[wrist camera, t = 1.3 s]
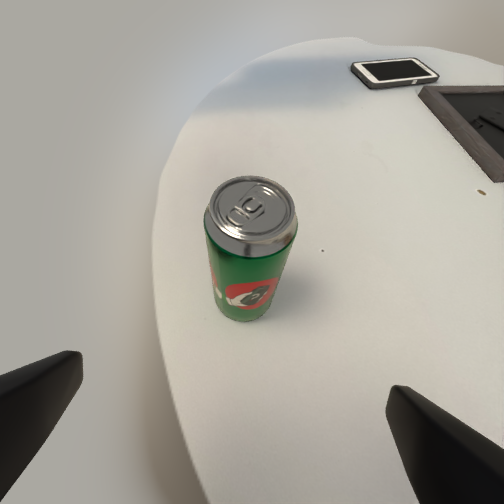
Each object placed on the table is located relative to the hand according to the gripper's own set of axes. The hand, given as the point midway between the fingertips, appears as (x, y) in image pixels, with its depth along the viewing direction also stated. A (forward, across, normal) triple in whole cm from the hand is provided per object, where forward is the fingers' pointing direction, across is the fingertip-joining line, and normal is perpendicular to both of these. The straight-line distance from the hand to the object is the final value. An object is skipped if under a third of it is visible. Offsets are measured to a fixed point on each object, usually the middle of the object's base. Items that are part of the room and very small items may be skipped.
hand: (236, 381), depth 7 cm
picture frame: (+37, -36, -19) cm, 55 cm away
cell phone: (+47, -23, -29) cm, 60 cm away
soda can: (+15, 0, +4) cm, 16 cm away
